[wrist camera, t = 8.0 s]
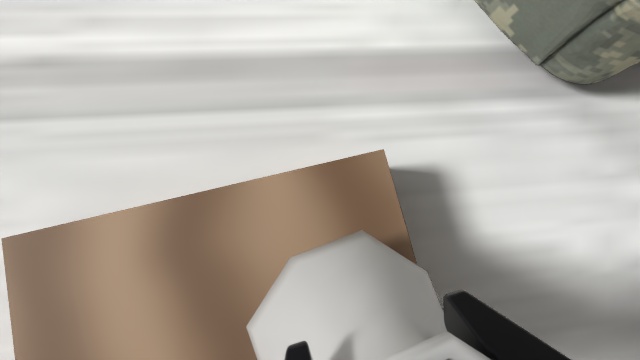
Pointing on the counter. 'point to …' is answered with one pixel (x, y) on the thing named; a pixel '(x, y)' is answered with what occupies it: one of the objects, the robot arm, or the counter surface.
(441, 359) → the flask
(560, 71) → the lunch bag
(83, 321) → the board
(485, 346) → the robot arm
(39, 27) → the counter surface
